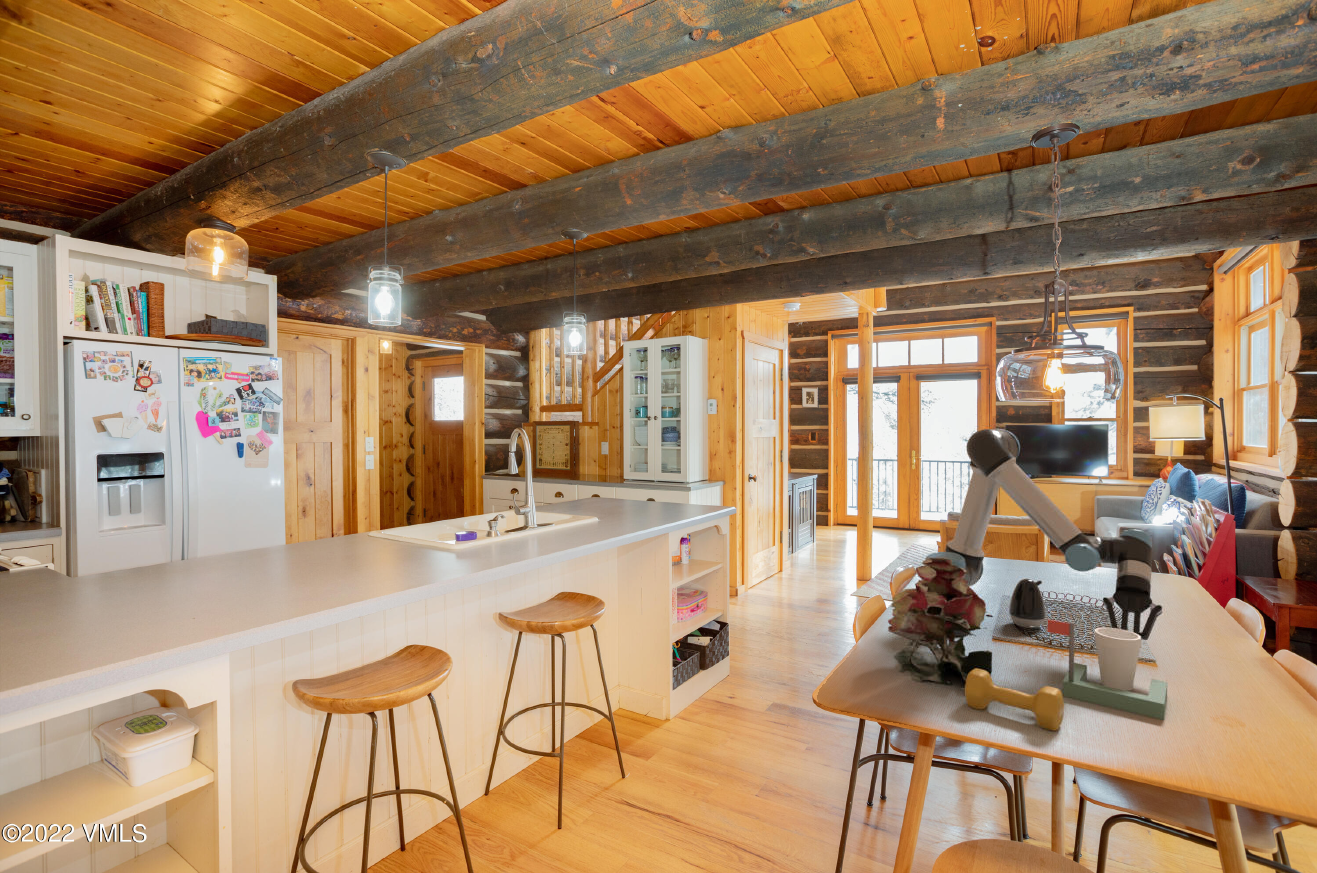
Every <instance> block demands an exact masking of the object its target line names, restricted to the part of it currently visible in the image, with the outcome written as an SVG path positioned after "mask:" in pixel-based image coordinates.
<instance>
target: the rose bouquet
mask: <svg viewBox="0 0 1317 873" xmlns="http://www.w3.org/2000/svg"><path fill="white" fill-rule="evenodd" d="M925 559H926V558H925ZM921 564H922V565H920V566H917V567H915V572H916V573H915V574H916V575H917V577H919V578H920V579H919V580H918V581H917V582H916V583H914V586H915V588H905V589H903V590H902V591H900V592H898V593H897V594H895V595H894V596H893V598H892V599H891V602H892V603H891V606H890V607H891V608H892V614H891V615H892V616H893V617H891V618H890V619H888V620H887V621H888V622H887V623H888V624H889V625H890V626H888V627H887V628H888V629H887V630H888V632H889V633H893V634H894V635H897V636H899V637H902V638H906V639H907V640H910V641H909V643H908V644H907V646H909V647H905V648H902V649H901V651H899V652H897V653H896V654H895V655H894V658H895V659H896V660H897V662H899V664H900V665H901V669H900V670H898V671H899V672H900V673H906V672H908V673H910V674H909V678H910V679H911V680H913V681H915V682H918V683H921V682H922V681H932V682H935V683H938V684H945V685H946V686H953V684H952V683H953V682H950V681H948V680H947V679H945V678H943V676H946V672H947V670H949V669H948V668H951V670H953V671H956V672H957V673H958V674H961V676H962V678H963V681H965V682H966V679H967V676H968V674H969V672H971V671H972V670H973V669H976V668H977V669H982V670H985V671H987V672H988V673H989V674H990V675H991V674H992V673H993V662H992V661H993V652H992V651H991V650H976V651H975V650H974V651H969V652H968V655H966V646H965V644H964V637H965V636H971V637H972V636H973V637H974V636H975V637H977V635H976V634H974V633H969V632H968V631H971V632H974V631H978V630H981V629H988V627H984V628H982V627H981V624H982V622H983V621H984V620H985V617H988V618H994V616H993V615H992V614H986V613H988V611H987V607H986V606H987V605H986V602H985V600H984V599H982V597H979V596H980V595H978V594H977V593H976V591H974V589H972V588H971V586H970V587H969V586H968V585H966V584H967V583H968V581H966V580H964V579H963V578H964V575H965V574H966V572H967V571H966V570H965V569H963V568H961V567H957V566H956V565H954V564H952V562H951V560H950V559H947V558H943V557H940V558H939V557H937V558H927V559H926V560H923V561H922V562H921ZM953 630H955V631H960V632H962V633H964V634H967V635H964V636H960V638H959V639H957V640H955V637H956V636H955V635H954V631H953ZM995 642H997V639H996V640H995ZM914 643H915V645H914ZM913 645H914V646H913ZM912 646H913V647H912ZM921 646H923V647H926V648H928V649H929V650H930V652H927V651H924V650H921V649H919V647H921ZM960 689H961V690H964V691H965V687H961V688H960Z"/></svg>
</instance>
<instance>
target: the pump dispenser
mask: <svg viewBox="0 0 1317 873" xmlns="http://www.w3.org/2000/svg"><path fill="white" fill-rule="evenodd" d="M1042 583H1043V582H1042V580H1037V581H1034V580H1032V579H1030V578H1024V579H1021V580H1020V581H1018V583H1017V584H1016V585H1015V587H1014V589H1013V592H1012V595H1011V598H1010V602H1009V608H1008V612H1009V615H1010V619H1011V620H1012V622H1013V623H1014V624H1015V625H1017V626H1018V627H1021V628H1023V629H1024V628H1025V629H1037V628H1040V627H1041V626H1042V625H1043V623H1044V622H1045V619H1046V617H1047V615H1046V612H1047V611H1046V606H1045V602H1044V597H1043V595H1042V593H1041V592H1042V591H1041V590H1040V588H1039V586H1040V585H1042ZM1030 626H1034V627H1030ZM1035 626H1038V627H1035Z"/></svg>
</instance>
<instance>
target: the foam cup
mask: <svg viewBox="0 0 1317 873" xmlns="http://www.w3.org/2000/svg"><path fill="white" fill-rule="evenodd" d="M1094 642H1095V647H1096V653H1097V660H1098V662H1097V663H1098V667H1099V676H1100V681H1101V685H1102V686H1106V687H1110V688H1115V689H1119V690H1124V691H1128V692H1131V691H1133V688H1134V682H1135V678H1136V672H1137V668H1138V667H1137V665H1138V661H1139V655H1140V650H1141V649H1142V640H1141V636H1140V635H1138V634H1136V633H1133V631H1129V630H1128V629H1127V630H1122V629H1121V628H1119V629H1116V628H1112V627H1098V628H1095V629H1094Z"/></svg>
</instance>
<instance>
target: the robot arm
mask: <svg viewBox="0 0 1317 873" xmlns="http://www.w3.org/2000/svg"><path fill="white" fill-rule="evenodd" d="M1020 451H1021V445H1020V441H1019V440H1018V438H1017V436H1016V435H1015V434H1014V433H1012V432H1011V431H1008V430H1006V429H1003V428H984V429H980V430H977V431H976V432H974V433H973V434H972V435H971V436H970V437H969V439H968V441H967V443H966V452H967V457H969V459H970V462H969V467H970V469H971V470H972V475H971V478H970V481H969V485H968V488H967V491H966V495H965V498H964V501H963V502H964V503H963V504H962V509H961V513H960V515H959V520H958V523H957V526H956V529H955V533H954V536H953V539H952V540H949V541H947V542H946V545H945V549H944V551H938V552H932V553H930V554H928V555H926V557H925V558H924V559H925V560H926V559H927V558H937V557H939V558H940V557H943V558H947V559H950V560H951V562H952V564H954V565H956V566H957V567H961V568H963V569H965V570H966V571H967V572H966V574H965V575H964V578H963V579H964V580H966V581H968V583H967V584H966V585H968V586H969V587H970V588H971V587H972V586H973V585H975V584H977V583H978V582H979V580H980V579H981V578H982V576H983V574H984V558H985V556H986V555H985V552H984V551H983V548H982V547H983V544H984V540H985V537H986V535H987V534H986V533H987V531H988V530H987V529H988V526H989V523H990V520H991V516H992V513H993V510H994V508H995V503H996V499H997V497H998V494H999V490H1000V488H1001V489H1002V490H1003V491H1004V492H1005V493H1006V494H1007V495H1008V496H1009V497H1010V499H1012V501H1014V503H1015V504H1016V505H1017V506H1018V507H1019V508H1020V509H1021V511H1023V512H1024V513H1025V515H1026V516H1027V517H1028V518H1029V519H1030V520H1031V521H1032V523H1034V524H1035V526H1036V527H1037V528H1038V529H1039V531H1041V532H1042V533H1043V534H1044V535H1045V536H1046V537H1047V538H1048V539H1049V541H1050V542H1052V545H1054V546H1055V547H1056V548H1057V549H1058V550H1059V551H1060V553H1062V555H1063V556H1064V560H1065V562H1066V565H1068V566H1069V568H1071V569H1073V570H1074V571H1077V572H1089V571H1091V570H1094V569H1096V568H1097V567H1098V566H1099V565H1100V564H1112V565H1116V564H1117V567H1116V568H1117V569H1116V580H1115V581H1116V583H1115V592H1114V593H1113V595H1112V596H1111V597H1103V598H1102V603H1103V606H1104V607H1105V608H1106V610H1107V613H1108V618H1109V621H1110V625H1111V627H1110V628H1116V629H1122V630H1127V631H1128V627H1129V624H1128V623H1129V614H1130V613H1132V614H1133V626H1132V627H1133V628H1132V632H1133V633H1136V634H1138V635H1140V636H1141V641H1142V640H1144V641H1148V640H1149V637H1150V635H1151V633H1152V630H1153V628H1154V626H1155V623H1156V621H1157V619H1158V617H1160V615H1162V614H1163V606H1162V605H1160V604H1155V603H1154V602H1153V599H1152V598H1151V588H1152V584H1151V583H1152V569H1153V568H1152V565H1153V564H1152V563H1153V553H1154V551H1153V538H1152V536H1151V535H1150V534H1149V533H1147V532H1145V531H1144V530H1140V529H1135V528H1130V529H1128V530H1127V529H1126V530H1123V531H1122V532H1121V533H1120V534H1119V536H1118V537H1117V536H1115V537H1113V536H1111V537H1107V536H1093V535H1085V534H1084V533H1083V532H1082V531H1081V530H1080V528H1079V527H1078V526H1077V525H1075V524H1074V523H1073V521H1072V520H1070V518H1068V516H1067V515H1066V514H1065V513H1064V512H1063V511H1062V509H1060V508H1059V507H1058V506H1057V505H1056V504H1055V503H1054V502H1053V501H1052V500H1051V499H1050V498H1049V496H1047V494H1045V492H1044V491H1043V490H1042V489H1041V488H1040V487H1039V486H1038V485H1037V484H1036V483H1035V481H1033V480H1032V479H1031V478H1030V476H1029V475H1027V474H1026V473H1025V471H1023V470H1022V468H1021V467H1020V466H1019V465H1018V464H1017V463H1016V462H1017V461H1016V460H1017V458H1018V456H1019V454H1020ZM925 560H924V561H925ZM1115 604H1116V605H1117V606H1118V608H1120V610H1121V622H1120V628H1119V627H1118V622H1117V620H1116V619H1117V618H1116V615H1115V611H1114V610H1115V609H1114V606H1115ZM1148 609H1149V610H1150V612H1149V614H1148V617H1147V620H1146V622H1145V625H1144V626H1143V629H1142V631H1141V618H1142V617H1141V616H1142V615H1141V614H1142V613H1144V612H1145V611H1146V610H1148ZM953 631H954V635H955V637H963V636H964V635H965V636H968V635H967V634H964V633H962V632H960V631H955V630H953ZM968 632H969V633H971V632H972V631H968ZM971 634H972V633H971ZM965 636H964V637H965Z"/></svg>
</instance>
